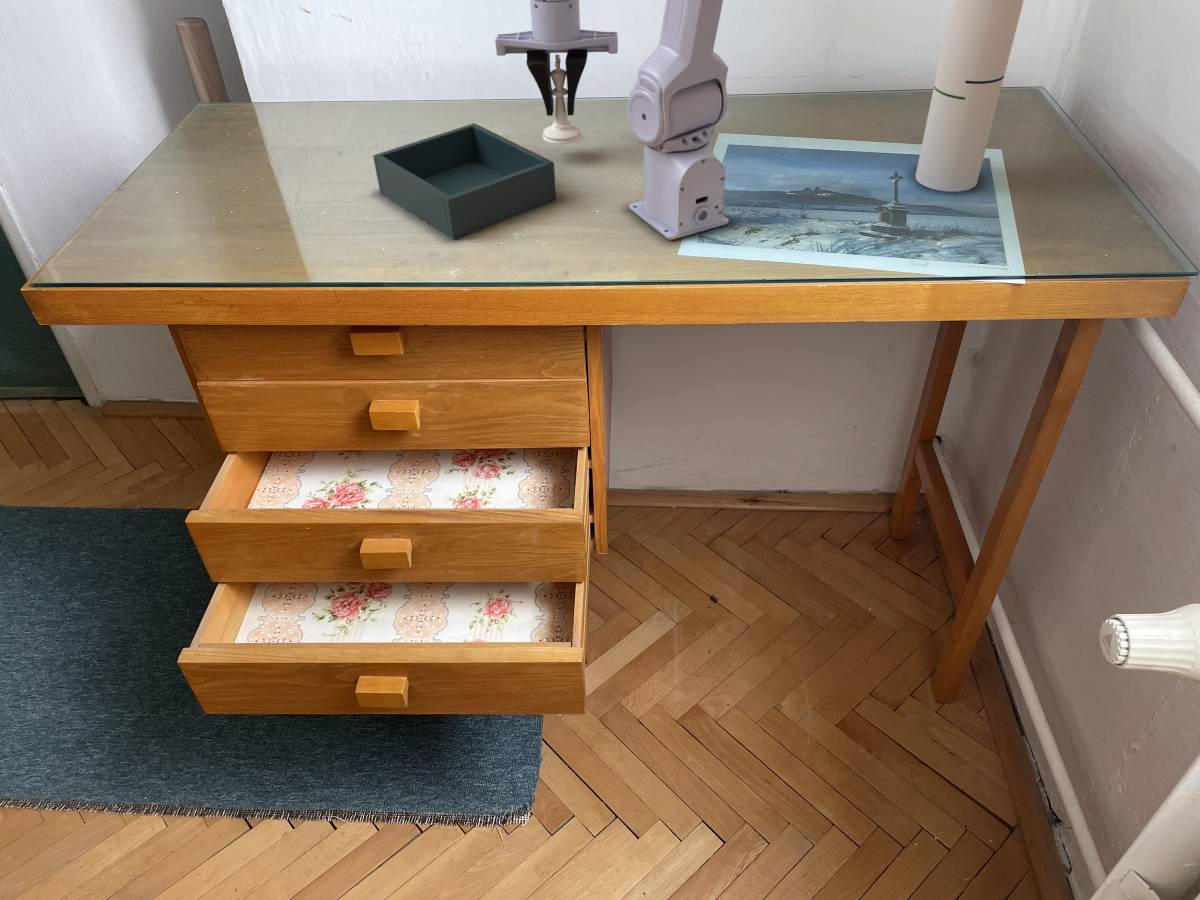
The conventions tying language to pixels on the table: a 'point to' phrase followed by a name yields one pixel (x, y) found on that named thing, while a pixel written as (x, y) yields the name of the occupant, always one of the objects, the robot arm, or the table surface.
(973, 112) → the cylindrical container
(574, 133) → the chess piece
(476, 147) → the dark green open box
